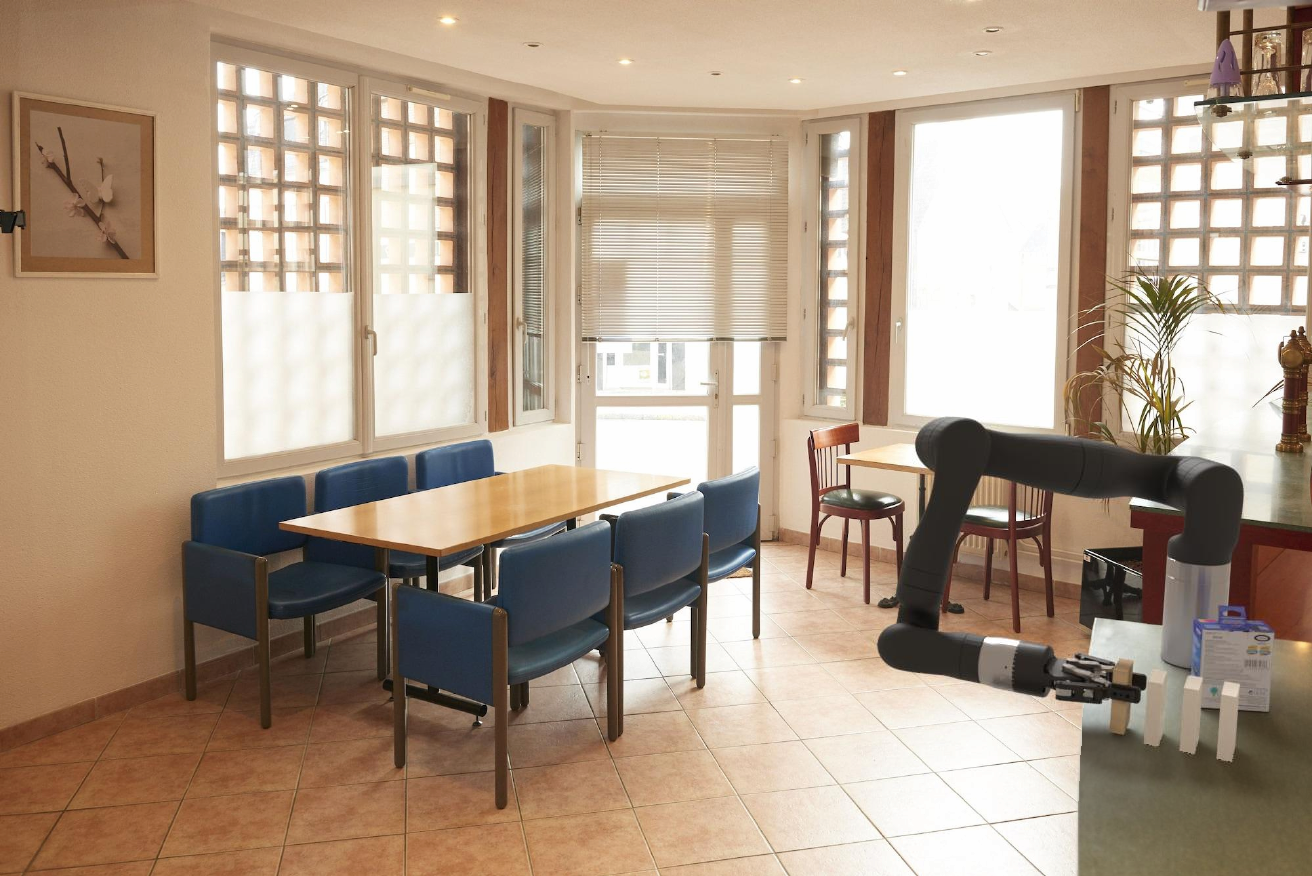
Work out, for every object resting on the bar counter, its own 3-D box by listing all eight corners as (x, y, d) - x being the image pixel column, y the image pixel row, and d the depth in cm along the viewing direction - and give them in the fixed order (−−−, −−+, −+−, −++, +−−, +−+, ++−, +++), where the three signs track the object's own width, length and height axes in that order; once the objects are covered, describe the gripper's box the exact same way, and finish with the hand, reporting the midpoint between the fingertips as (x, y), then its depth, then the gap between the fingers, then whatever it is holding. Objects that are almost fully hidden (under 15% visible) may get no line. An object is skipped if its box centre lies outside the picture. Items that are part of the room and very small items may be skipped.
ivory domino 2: (1184, 737, 147) (1188, 675, 146) (1198, 740, 146) (1202, 677, 145) (1179, 751, 143) (1183, 687, 141) (1194, 754, 142) (1198, 690, 141)
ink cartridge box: (1258, 698, 160) (1265, 605, 157) (1271, 713, 154) (1279, 617, 152) (1186, 694, 162) (1193, 601, 159) (1197, 709, 156) (1203, 613, 154)
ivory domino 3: (1219, 744, 145) (1224, 681, 143) (1235, 747, 144) (1239, 684, 142) (1216, 759, 141) (1221, 694, 139) (1232, 762, 140) (1237, 697, 138)
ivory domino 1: (1149, 730, 149) (1153, 669, 148) (1163, 733, 149) (1167, 671, 147) (1143, 744, 145) (1147, 681, 144) (1158, 747, 144) (1162, 683, 143)
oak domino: (1116, 718, 152) (1119, 658, 150) (1129, 721, 151) (1133, 660, 149) (1109, 731, 147) (1113, 669, 146) (1123, 734, 146) (1127, 672, 145)
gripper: (1004, 657, 149) (1137, 681, 140) (1028, 626, 161) (1152, 647, 152) (1002, 707, 150) (1133, 734, 141) (1026, 674, 162) (1149, 697, 153)
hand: (1142, 689), depth 147 cm, fingers closed on oak domino, 4 cm apart
